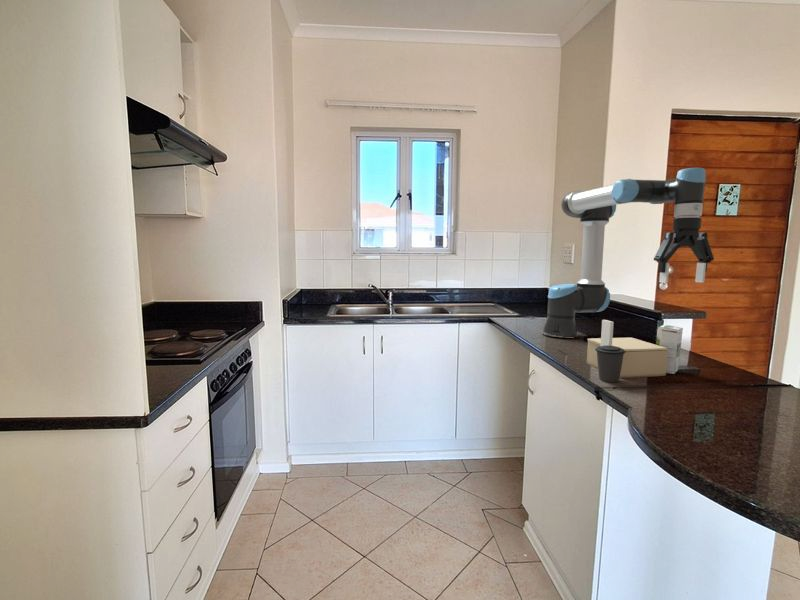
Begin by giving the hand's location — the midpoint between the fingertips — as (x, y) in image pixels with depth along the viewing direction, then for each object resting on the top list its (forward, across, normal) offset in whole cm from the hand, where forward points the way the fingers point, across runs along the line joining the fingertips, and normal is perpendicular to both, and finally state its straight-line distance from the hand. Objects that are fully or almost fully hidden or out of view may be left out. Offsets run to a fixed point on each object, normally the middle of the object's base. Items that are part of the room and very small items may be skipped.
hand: (681, 282), depth 132 cm
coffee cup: (+28, -33, -12) cm, 45 cm away
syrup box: (+28, -9, -6) cm, 30 cm away
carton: (+28, -21, -3) cm, 35 cm away
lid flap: (+20, -22, -3) cm, 30 cm away
